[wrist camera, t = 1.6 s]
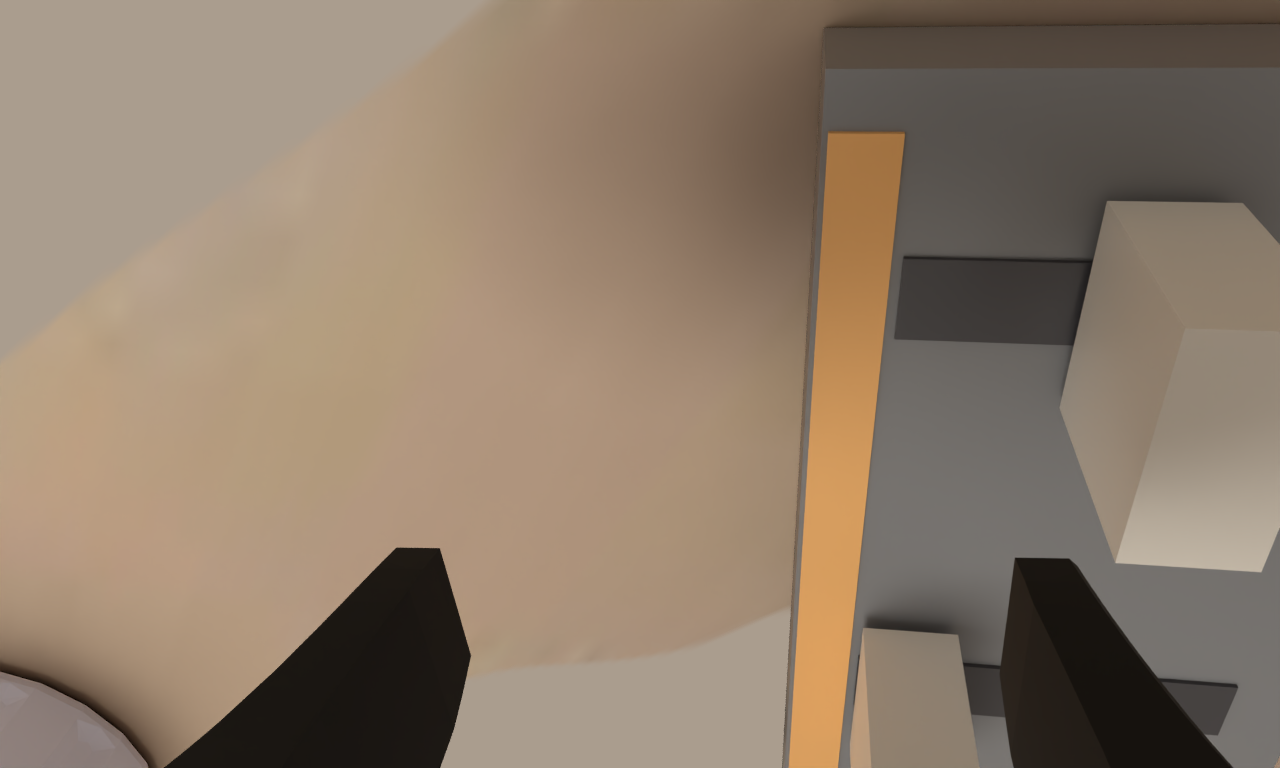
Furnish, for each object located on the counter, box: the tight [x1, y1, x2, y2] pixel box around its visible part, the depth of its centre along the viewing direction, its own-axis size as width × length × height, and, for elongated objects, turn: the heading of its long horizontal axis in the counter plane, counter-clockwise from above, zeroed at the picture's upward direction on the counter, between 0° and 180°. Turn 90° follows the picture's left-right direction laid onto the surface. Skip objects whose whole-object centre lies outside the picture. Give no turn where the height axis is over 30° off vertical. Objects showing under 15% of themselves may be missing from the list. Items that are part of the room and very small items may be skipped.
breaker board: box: [782, 24, 1280, 768], centre depth 23 cm, size 11×28×3 cm, turn 2°
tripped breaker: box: [1060, 201, 1280, 572], centre depth 15 cm, size 2×4×4 cm, turn 2°
